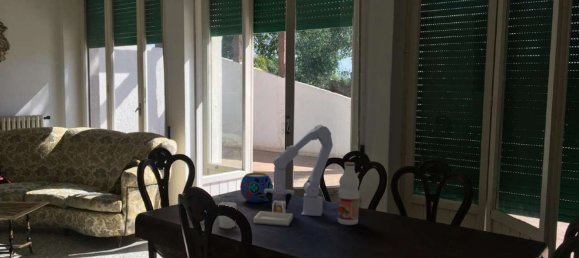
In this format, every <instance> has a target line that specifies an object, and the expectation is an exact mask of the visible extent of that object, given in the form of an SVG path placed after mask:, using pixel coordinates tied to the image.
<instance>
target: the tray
mask: <svg viewBox="0 0 579 258" xmlns="http://www.w3.org/2000/svg"><path fill="white" fill-rule="evenodd" d="M293 215H294V213H292V212H291V213H290V212H286V213H277V212H272V211H262V210H260V211H258V213H257V214H256V215H255V216H254V217H253V224H257V225H258V224H259V225H270V226H271V225H274V226H287V227H288V226H289V225H290V224H291V223H292V221H293Z"/></svg>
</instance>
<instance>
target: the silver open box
mask: <svg viewBox="0 0 579 258" xmlns="http://www.w3.org/2000/svg"><path fill="white" fill-rule="evenodd" d="M285 206H286V200H273V201H272V208H271V212H276V208H278V207H280V208H281V209H282V212H281V213H287V212H286V211H287V209H285Z"/></svg>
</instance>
